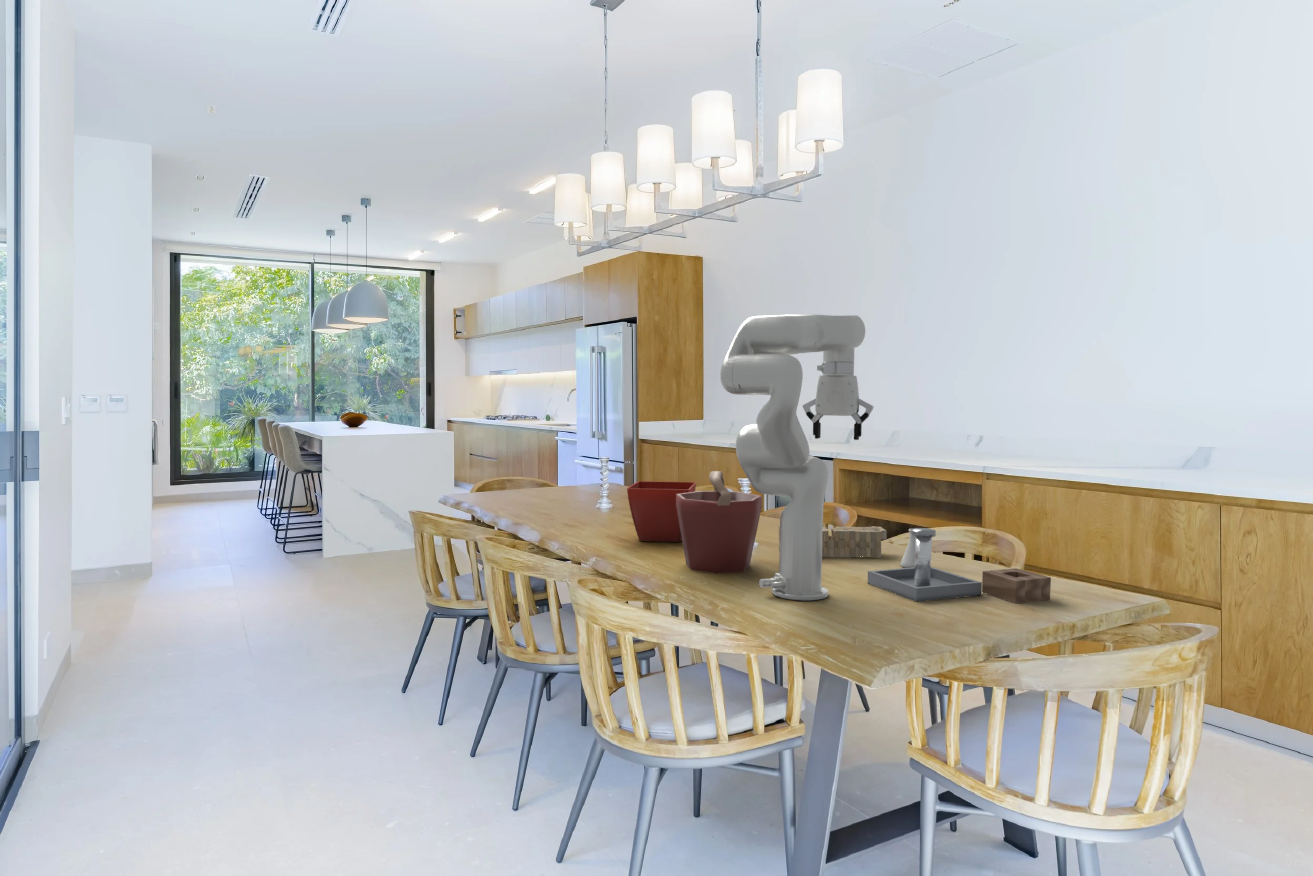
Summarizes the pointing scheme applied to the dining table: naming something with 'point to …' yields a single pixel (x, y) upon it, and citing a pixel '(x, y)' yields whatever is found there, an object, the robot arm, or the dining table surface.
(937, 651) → the dining table surface
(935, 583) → the tray
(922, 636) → the dining table surface
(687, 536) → the bucket
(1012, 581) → the socket block
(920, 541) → the steel pin
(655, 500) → the plant pot
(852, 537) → the block tower
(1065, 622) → the dining table surface
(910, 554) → the flask
